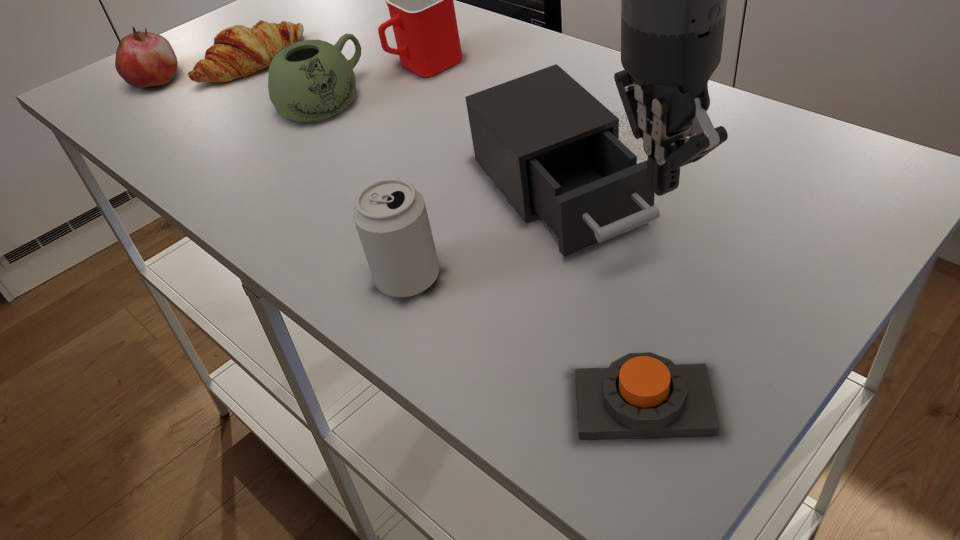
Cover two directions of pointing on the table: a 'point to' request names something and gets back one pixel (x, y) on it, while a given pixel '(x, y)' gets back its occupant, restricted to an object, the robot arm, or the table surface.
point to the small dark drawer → (590, 191)
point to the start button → (644, 382)
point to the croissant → (244, 50)
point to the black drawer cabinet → (531, 126)
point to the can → (396, 237)
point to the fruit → (145, 59)
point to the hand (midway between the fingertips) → (662, 188)
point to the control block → (617, 418)
